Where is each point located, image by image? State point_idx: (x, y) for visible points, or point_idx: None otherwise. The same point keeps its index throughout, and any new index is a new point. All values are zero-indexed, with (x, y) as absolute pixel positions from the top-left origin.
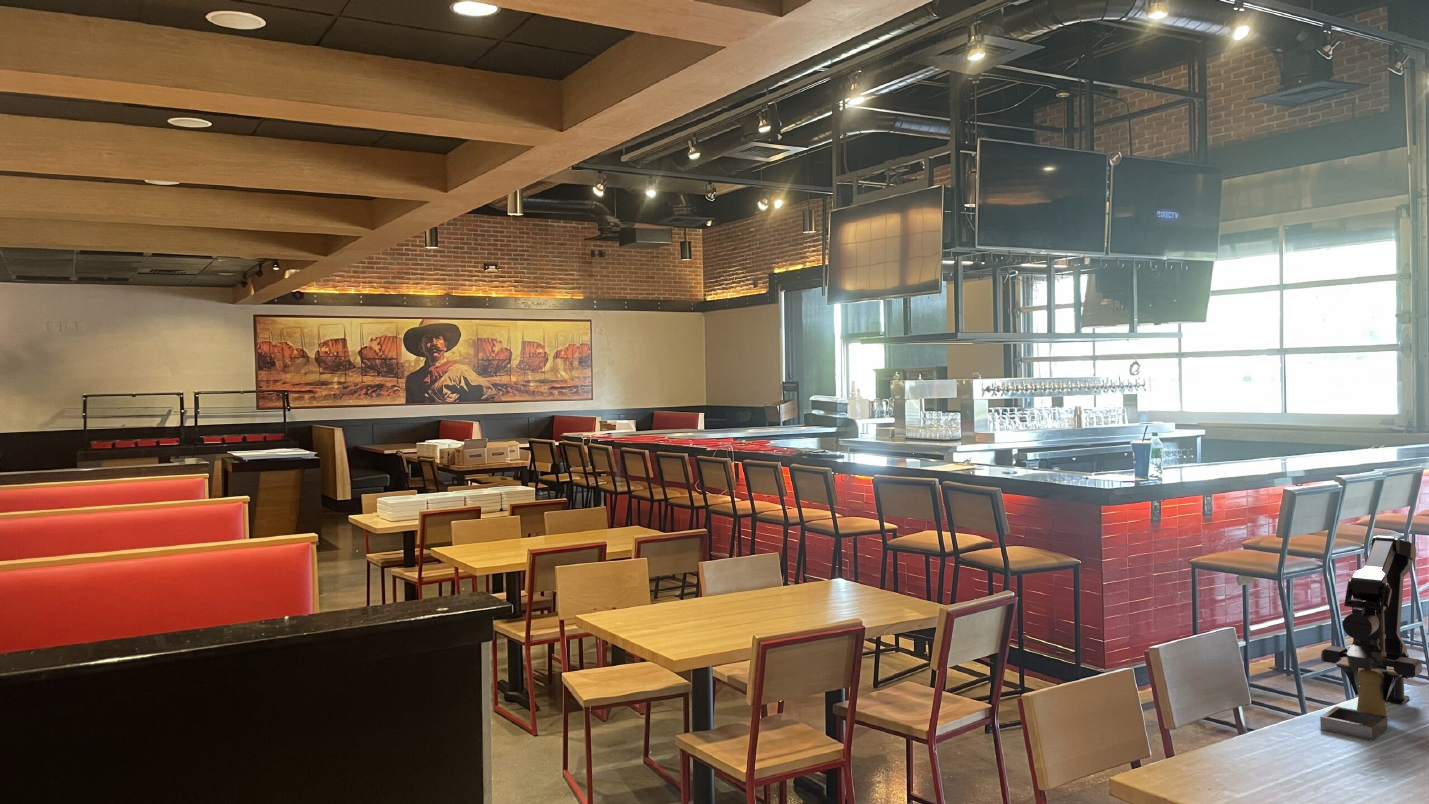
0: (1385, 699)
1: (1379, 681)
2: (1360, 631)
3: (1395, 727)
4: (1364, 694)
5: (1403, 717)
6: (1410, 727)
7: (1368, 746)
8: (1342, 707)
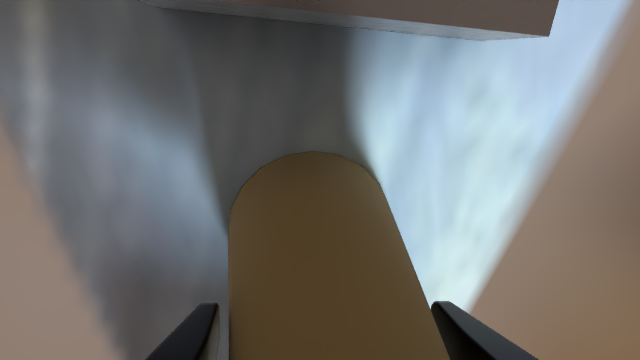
0: (200, 307)
1: None
2: None
3: (138, 112)
4: (378, 264)
5: None
6: (70, 176)
7: None
8: (499, 31)
